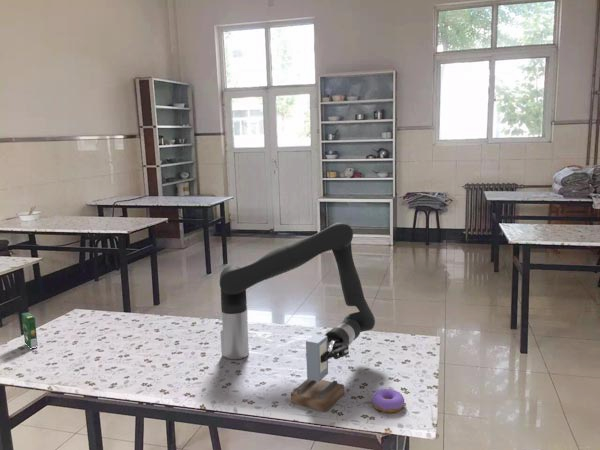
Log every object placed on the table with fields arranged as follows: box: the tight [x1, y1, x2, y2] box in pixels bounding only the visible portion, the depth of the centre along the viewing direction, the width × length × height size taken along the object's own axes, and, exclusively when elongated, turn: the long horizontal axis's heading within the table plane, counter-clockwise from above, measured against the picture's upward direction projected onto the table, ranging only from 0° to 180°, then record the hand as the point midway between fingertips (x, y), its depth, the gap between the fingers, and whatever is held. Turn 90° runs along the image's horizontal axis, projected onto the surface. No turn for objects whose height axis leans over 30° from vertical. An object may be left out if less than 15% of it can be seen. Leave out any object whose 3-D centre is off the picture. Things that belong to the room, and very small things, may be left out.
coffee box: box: [21, 312, 39, 349], centre depth 200 cm, size 8×3×13 cm, turn 44°
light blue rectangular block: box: [305, 333, 329, 382], centre depth 151 cm, size 4×6×12 cm
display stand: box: [290, 378, 345, 413], centre depth 153 cm, size 12×12×4 cm
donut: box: [371, 388, 405, 413], centre depth 148 cm, size 10×9×5 cm
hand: (314, 358), depth 150 cm, fingers closed on light blue rectangular block, 4 cm apart
